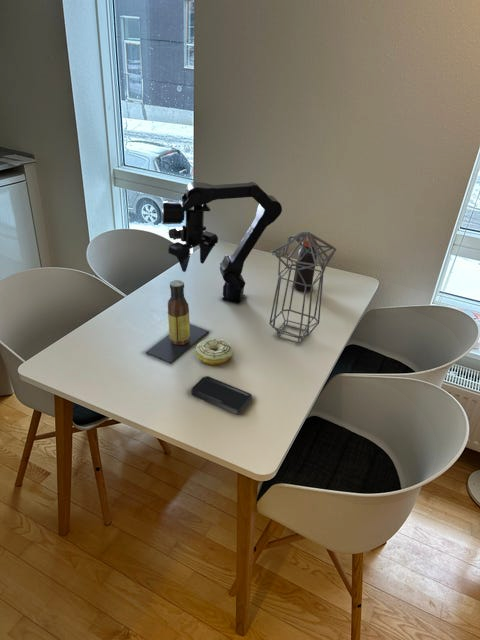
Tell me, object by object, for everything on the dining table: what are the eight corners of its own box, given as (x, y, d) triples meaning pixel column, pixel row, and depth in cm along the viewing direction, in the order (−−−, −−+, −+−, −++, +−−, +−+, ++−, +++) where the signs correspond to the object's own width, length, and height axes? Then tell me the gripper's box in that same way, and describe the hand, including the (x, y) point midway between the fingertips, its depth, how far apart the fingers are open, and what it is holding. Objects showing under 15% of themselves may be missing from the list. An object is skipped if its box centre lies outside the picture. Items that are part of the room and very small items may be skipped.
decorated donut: (239, 356, 141) (240, 346, 139) (213, 372, 134) (214, 361, 132) (214, 341, 147) (215, 331, 145) (188, 355, 140) (189, 345, 138)
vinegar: (314, 287, 182) (322, 238, 171) (306, 294, 177) (314, 244, 166) (298, 282, 185) (305, 233, 174) (290, 288, 180) (297, 239, 169)
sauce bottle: (191, 336, 148) (192, 279, 138) (187, 347, 143) (188, 289, 132) (170, 333, 148) (169, 276, 138) (166, 345, 143) (164, 286, 133)
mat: (185, 323, 155) (185, 322, 155) (208, 331, 151) (208, 330, 151) (145, 353, 140) (145, 351, 140) (170, 363, 136) (170, 362, 136)
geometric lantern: (323, 331, 156) (341, 230, 137) (305, 355, 144) (323, 248, 125) (279, 317, 162) (291, 218, 143) (259, 339, 150) (269, 234, 131)
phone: (205, 375, 131) (253, 394, 125) (205, 378, 132) (253, 398, 126) (189, 390, 125) (239, 412, 119) (189, 394, 126) (238, 415, 120)
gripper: (194, 210, 163) (193, 252, 171) (155, 223, 150) (156, 268, 158) (220, 219, 158) (217, 261, 166) (182, 233, 145) (181, 279, 153)
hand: (193, 267), depth 161 cm, fingers open, 9 cm apart
